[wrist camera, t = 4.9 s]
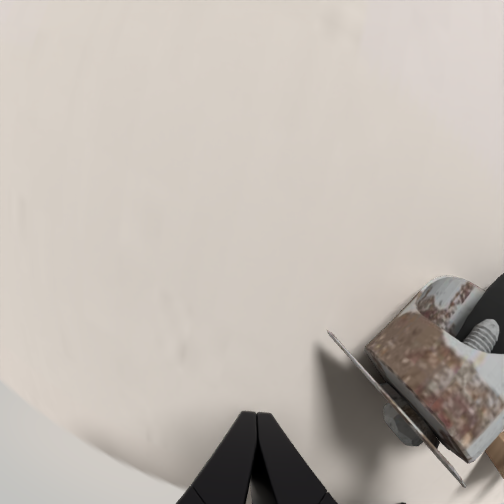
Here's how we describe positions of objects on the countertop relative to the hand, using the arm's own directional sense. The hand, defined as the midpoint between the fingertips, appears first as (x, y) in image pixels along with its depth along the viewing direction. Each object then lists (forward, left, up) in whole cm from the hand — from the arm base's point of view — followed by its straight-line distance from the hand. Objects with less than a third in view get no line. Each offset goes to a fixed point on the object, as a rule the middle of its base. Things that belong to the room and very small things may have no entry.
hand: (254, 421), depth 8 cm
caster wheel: (+2, -10, -4) cm, 11 cm away
